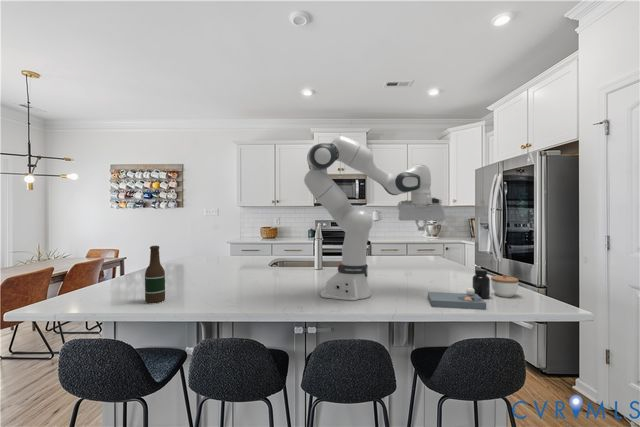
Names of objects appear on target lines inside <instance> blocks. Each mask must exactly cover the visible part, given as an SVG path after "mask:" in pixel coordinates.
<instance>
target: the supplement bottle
mask: <svg viewBox="0 0 640 427" xmlns="http://www.w3.org/2000/svg"><path fill="white" fill-rule="evenodd" d="M474 274H475V275H473V276H472V288H473V289H474V290H475V293H474V294H477V295H478V296H479V297H480V298H482V299H483V300H485V299H486V300H487V299H490V297H491V289H490V287H491V284H490V283H491V281H490V280H491V278H490V277H489V276H488V269H483V268H481V269H480V268H476V269H475V270H474Z"/></svg>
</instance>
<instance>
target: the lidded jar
mask: <svg viewBox="0 0 640 427" xmlns="http://www.w3.org/2000/svg"><path fill="white" fill-rule="evenodd" d="M490 280H491V281H490V283H491V284H490V285H491V288H492V290H493V292H494V293H495V294H496V296H498V297H503V298H512V297H513V296H514V295H515V294H516V293H517V292H518V290H519V282H520V281H519V279H518V278H517V277H513V276H508V275H507V274H502V275H493V276H491V278H490Z"/></svg>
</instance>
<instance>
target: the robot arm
mask: <svg viewBox="0 0 640 427" xmlns="http://www.w3.org/2000/svg"><path fill="white" fill-rule="evenodd" d="M373 154H374V153H372V151H371V150H370V149H369V148H368V147H366V146H365V145H364V144H362V143H360V142H358V141H356V140H355V139H352V138H350V137H347V136H344V135H338V136H336V137H334V138H333V140H332V141H331V142H330V143H325V142H323V143H318V144H315V145H313V146H311V148H309V149H308V152H307V156H306V161H307V165H308V170H309V171H308V172H307V173H306V174H305V176H304V179H303V182H304V184H305V186H306V188H307V190H308V191H309V192H310V193H311V195H312V196H313V197H314V198H315V199H316V201H318V202H319V203H320V205H321V206H322V207H323V208H324V209H325V210H326V211H327V212H328V214H329V215H330V216H331V219H333V220H334V222H335V223H336V225H337V226H338V227H339V228H340V230H342V231H343V232H345V233H344V240H343V244H342V245H341V262H340V263H338V264H337V272H336V273H335V274H333V275H332V276H331V277H330V278H329V279H327V281H326V284H325V289H323V290H321V291H320V297H321V298H325V299H335V300H343V301H356V300H362V299H363V300H364V299H367V298H369V297H371V292H370V289H369V283H368V282H369V281H368V275H369V268H368V267H369V266H368V264H367V247H368V246H367V245H368V240H369V235H370V234H369V233H370V230H371V228H372V226H373V218H372V216H371V215H370V213H369V212H367V211H366V210H363V209H356V208H355V207H354V206H353V205H352V203H351V202H350V200H349V199H348V196H347V195H346V193H345V192H344V191H343V190H342V188H341V187H340V186H338V184H337V183H336V182H335V181H334V180H333V179H332V178H331V176H330V175H329V173H328V168H329V167H331V166H332V165H333V164H334V163H335V162H336V161H338V162H340V163H342V164H344V165H346V166H348V167H349V168H351V169H354V170H355V171H358V172H360V173H362V174H364V175H365V176H367V177H368V178H370V179H372V180H374V181H375V182H376V183H378V184H379V185H380V186H382V187H383V189H384V190H385V191H386V193H387V194H389V195H391V196H398V195H401V194H407V193H410V200H401V201H399V202H398V203H397V209H398V221H401V222H402V221H403V222H404V221H409V222H412V221H414V222H415V223H414V224H415V225H416V227H417V231H421V232H424V231H425V230H426V226H427V225H428V222H429V221H433V222H434V221H444V220H445V219H446V215H445V208H444V206H443V205H442V202H443V200H442V199H441V198H437V197H434V196H432V192H431V186H432V176H431V170H430V167H428V166H426V165H424V164H413V165H412V166H411V167H409V168H408V169H406V170H403V171H400V172H398V173H390V172H387V171H385V170H384V169H382V168H381V167H380V166H378V165H377V164H375V162H374V156H373ZM421 221H423V223H424V224H423V225H422V226H420V225H419V223H420V222H421Z"/></svg>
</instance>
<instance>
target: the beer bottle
mask: <svg viewBox="0 0 640 427" xmlns="http://www.w3.org/2000/svg"><path fill="white" fill-rule="evenodd" d="M149 249H150V256H149V265H148V266H147V268H146V270H145V273H144V300H145V303H146V302H147V303H156V304H160V303H159V302H161V303H163V302H165V301H166V272H165V269H164V267H163V266H162V264H161V260H160V246H159V245H150V246H149ZM164 300H165V301H164ZM162 301H163V302H162ZM147 303H146V304H147Z"/></svg>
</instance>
